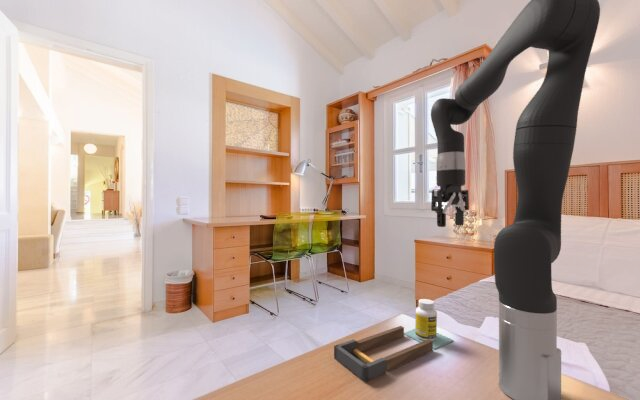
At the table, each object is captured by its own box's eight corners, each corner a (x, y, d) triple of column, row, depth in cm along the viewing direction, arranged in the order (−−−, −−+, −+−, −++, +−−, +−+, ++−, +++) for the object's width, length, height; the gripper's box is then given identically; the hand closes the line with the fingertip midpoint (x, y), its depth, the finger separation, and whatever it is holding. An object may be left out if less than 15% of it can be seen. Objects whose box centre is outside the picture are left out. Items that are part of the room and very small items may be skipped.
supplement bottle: (430, 344, 76) (430, 306, 76) (411, 336, 80) (411, 300, 80) (440, 337, 79) (440, 301, 79) (422, 330, 83) (422, 296, 83)
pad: (453, 341, 78) (453, 339, 78) (434, 349, 74) (434, 348, 74) (422, 327, 86) (422, 326, 86) (403, 334, 82) (403, 333, 82)
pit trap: (385, 373, 64) (385, 359, 64) (364, 382, 60) (364, 368, 60) (353, 351, 73) (353, 339, 73) (334, 358, 70) (334, 345, 70)
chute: (432, 351, 73) (432, 341, 73) (386, 371, 64) (386, 360, 64) (400, 334, 82) (400, 325, 82) (356, 351, 73) (356, 341, 73)
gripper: (447, 166, 77) (447, 228, 77) (477, 169, 84) (477, 225, 84) (423, 169, 83) (423, 226, 83) (453, 171, 91) (453, 223, 91)
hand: (450, 225), depth 84 cm, fingers open, 8 cm apart
